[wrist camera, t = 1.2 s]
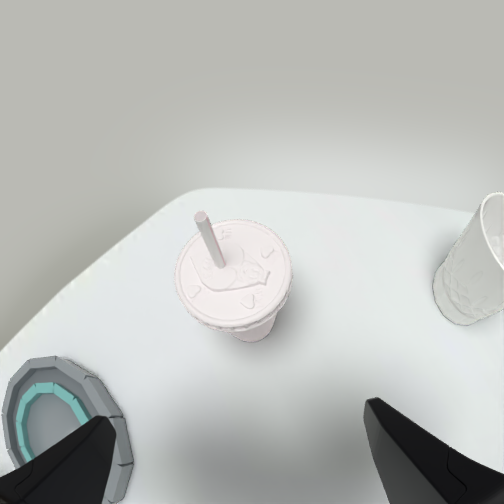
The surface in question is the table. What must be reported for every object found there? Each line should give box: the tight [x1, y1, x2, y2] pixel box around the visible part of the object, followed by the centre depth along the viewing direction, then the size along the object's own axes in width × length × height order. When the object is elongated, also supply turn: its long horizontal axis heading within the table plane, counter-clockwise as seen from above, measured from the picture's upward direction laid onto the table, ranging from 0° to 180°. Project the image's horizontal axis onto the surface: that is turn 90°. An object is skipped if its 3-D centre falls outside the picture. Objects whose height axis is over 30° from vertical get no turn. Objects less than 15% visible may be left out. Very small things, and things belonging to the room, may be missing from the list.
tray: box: [2, 356, 134, 504], centre depth 18 cm, size 16×16×2 cm
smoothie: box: [174, 211, 293, 342], centre depth 18 cm, size 6×6×14 cm
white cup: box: [433, 192, 504, 326], centre depth 18 cm, size 8×8×10 cm
